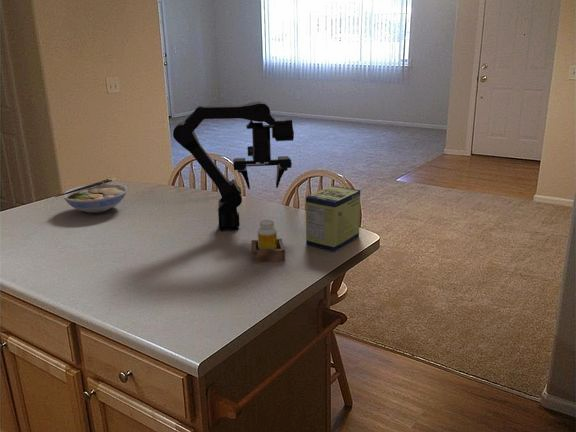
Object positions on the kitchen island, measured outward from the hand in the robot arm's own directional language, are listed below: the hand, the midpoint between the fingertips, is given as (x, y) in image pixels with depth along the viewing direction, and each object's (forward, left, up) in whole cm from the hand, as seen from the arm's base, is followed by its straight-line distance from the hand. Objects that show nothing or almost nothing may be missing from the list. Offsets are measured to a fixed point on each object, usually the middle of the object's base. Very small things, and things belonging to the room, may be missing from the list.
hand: (262, 188), depth 175 cm
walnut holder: (-1, -26, -13) cm, 29 cm away
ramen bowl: (-60, +27, -13) cm, 67 cm away
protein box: (+20, -17, -13) cm, 30 cm away
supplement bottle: (-1, -26, -12) cm, 29 cm away
